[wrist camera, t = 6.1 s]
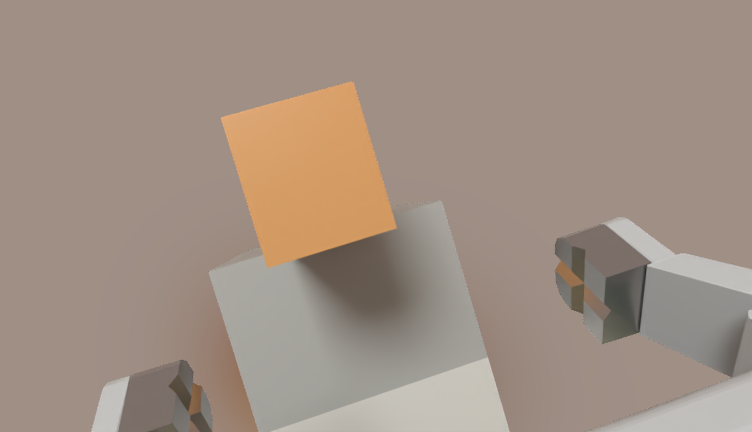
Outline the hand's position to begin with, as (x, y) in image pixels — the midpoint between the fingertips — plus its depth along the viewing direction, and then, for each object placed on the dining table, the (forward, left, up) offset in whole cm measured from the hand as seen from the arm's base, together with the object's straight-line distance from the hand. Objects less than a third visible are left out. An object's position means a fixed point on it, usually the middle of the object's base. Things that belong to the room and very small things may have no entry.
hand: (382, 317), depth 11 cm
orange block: (-1, +13, +2) cm, 13 cm away
